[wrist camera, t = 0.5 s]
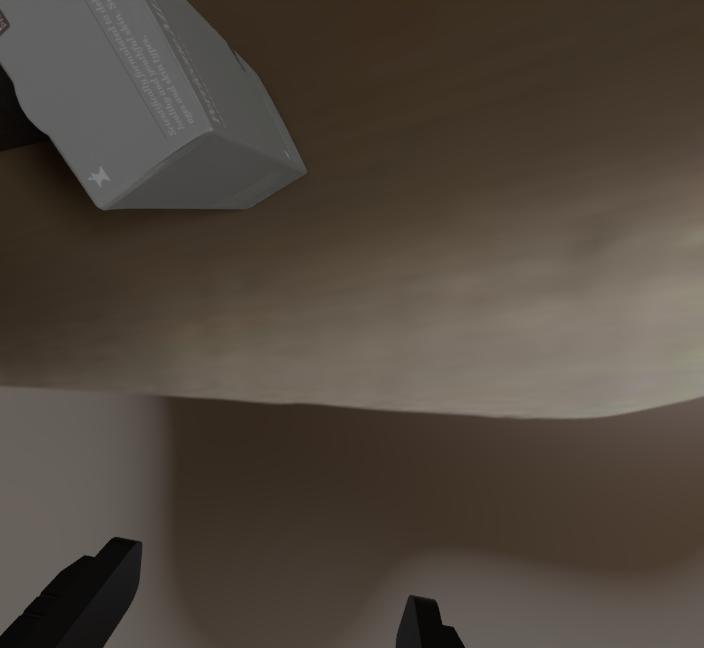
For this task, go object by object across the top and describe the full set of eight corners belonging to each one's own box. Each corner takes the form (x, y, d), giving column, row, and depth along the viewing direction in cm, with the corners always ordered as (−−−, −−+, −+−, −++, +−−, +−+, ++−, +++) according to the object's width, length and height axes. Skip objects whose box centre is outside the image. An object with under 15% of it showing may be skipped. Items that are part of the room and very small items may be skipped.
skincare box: (310, 173, 27) (238, 131, 12) (238, 215, 28) (95, 223, 14) (254, 64, 25) (82, -154, 10) (180, 115, 26) (-72, -8, 11)
